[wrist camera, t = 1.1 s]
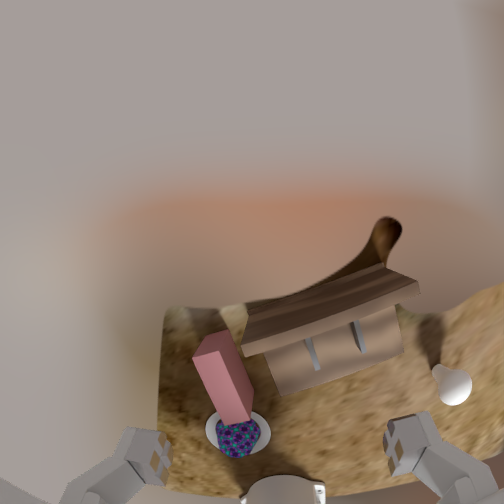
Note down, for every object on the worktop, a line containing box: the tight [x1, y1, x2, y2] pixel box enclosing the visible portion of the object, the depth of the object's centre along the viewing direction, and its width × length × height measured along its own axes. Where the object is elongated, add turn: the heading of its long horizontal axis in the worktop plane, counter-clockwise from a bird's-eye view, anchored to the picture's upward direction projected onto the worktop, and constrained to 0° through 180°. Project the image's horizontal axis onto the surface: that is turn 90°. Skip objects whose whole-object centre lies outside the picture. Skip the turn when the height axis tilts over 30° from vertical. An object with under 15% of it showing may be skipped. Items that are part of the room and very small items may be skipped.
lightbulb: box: [432, 364, 472, 405], centre depth 40 cm, size 6×6×11 cm
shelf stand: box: [240, 262, 420, 397], centre depth 40 cm, size 16×22×13 cm
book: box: [192, 329, 254, 426], centre depth 44 cm, size 12×4×9 cm, turn 20°
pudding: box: [205, 411, 271, 458], centre depth 47 cm, size 12×12×5 cm
